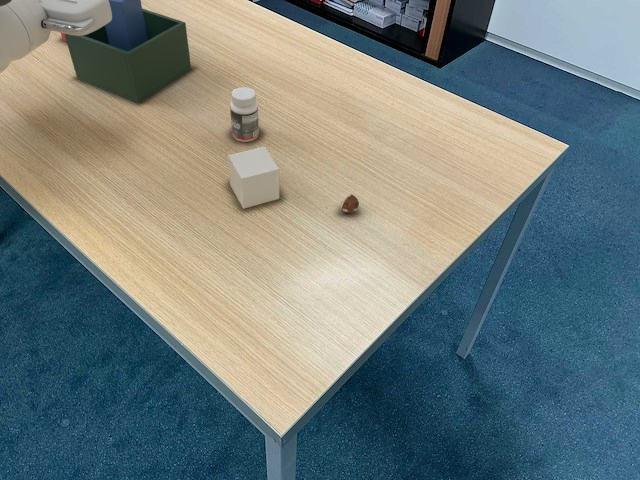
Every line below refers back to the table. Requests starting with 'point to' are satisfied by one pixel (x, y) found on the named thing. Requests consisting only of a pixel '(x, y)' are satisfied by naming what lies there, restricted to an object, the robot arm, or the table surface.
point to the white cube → (254, 177)
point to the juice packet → (126, 24)
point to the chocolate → (350, 203)
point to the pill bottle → (244, 114)
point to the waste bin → (133, 58)
